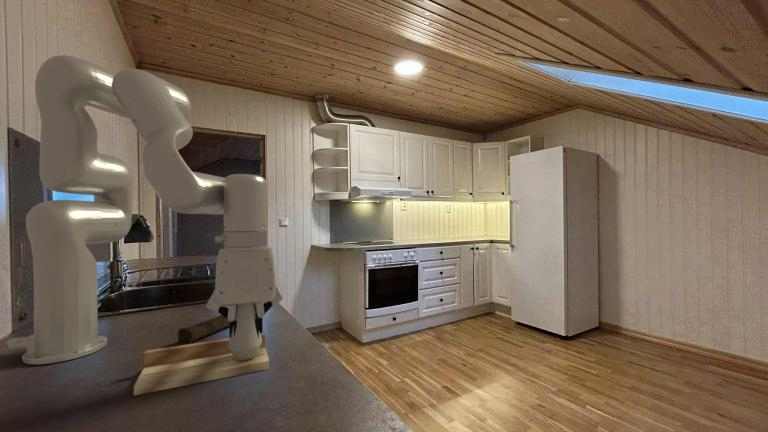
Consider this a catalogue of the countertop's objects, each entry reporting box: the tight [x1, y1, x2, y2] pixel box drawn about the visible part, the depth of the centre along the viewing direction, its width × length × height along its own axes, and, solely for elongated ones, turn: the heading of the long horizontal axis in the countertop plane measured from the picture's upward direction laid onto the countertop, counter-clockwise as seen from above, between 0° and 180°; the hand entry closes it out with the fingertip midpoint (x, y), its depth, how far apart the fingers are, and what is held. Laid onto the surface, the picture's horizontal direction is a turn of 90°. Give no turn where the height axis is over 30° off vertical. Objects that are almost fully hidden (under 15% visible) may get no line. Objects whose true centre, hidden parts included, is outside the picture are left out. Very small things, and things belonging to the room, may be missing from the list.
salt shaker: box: [228, 303, 262, 360], centre depth 61 cm, size 6×6×13 cm
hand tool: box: [177, 314, 229, 345], centre depth 80 cm, size 19×4×5 cm, turn 159°
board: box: [133, 332, 270, 396], centre depth 60 cm, size 20×10×4 cm, turn 115°
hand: (246, 338), depth 61 cm, fingers closed on salt shaker, 3 cm apart
